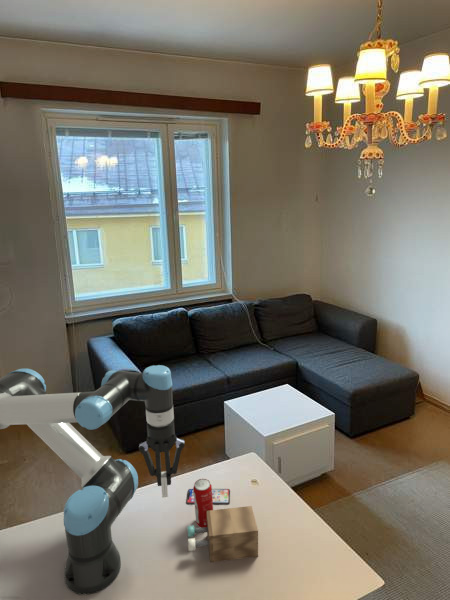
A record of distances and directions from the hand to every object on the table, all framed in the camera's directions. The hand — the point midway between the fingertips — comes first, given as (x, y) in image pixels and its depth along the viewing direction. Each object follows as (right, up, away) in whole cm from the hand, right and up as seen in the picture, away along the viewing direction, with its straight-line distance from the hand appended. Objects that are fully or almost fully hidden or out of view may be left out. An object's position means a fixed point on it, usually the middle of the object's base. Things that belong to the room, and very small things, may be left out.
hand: (165, 493), depth 123 cm
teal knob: (+10, -14, +5) cm, 18 cm away
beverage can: (+11, -16, +13) cm, 23 cm away
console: (+19, -17, +4) cm, 27 cm away
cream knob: (+11, -16, 0) cm, 19 cm away
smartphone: (+12, -13, +25) cm, 31 cm away
